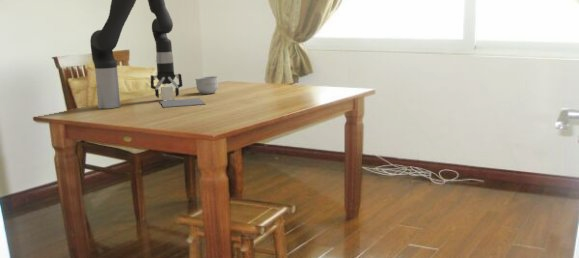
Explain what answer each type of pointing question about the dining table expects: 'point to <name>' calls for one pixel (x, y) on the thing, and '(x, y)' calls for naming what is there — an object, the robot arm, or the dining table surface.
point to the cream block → (167, 93)
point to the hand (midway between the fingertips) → (167, 96)
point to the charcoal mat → (182, 102)
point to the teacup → (207, 84)
